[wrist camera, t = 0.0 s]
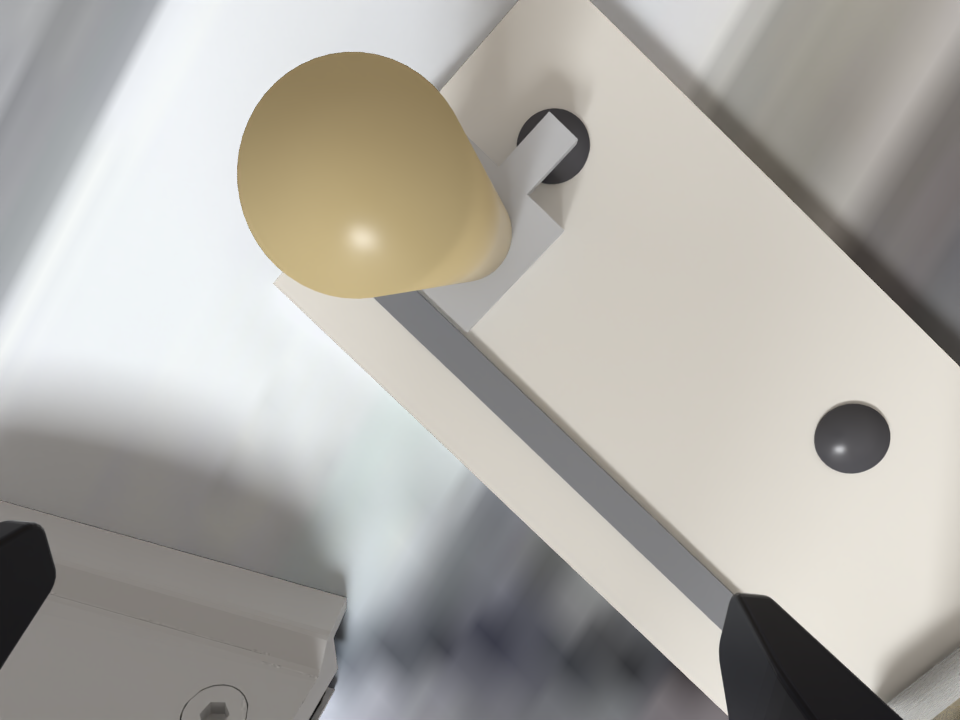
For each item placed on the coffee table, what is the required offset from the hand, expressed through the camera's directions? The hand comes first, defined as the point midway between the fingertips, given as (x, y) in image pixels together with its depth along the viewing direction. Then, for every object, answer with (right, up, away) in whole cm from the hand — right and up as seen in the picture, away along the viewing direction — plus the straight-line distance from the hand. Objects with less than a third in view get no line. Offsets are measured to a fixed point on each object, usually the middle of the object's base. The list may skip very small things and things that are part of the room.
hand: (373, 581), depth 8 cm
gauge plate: (+10, 0, +15) cm, 18 cm away
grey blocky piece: (-13, -8, +18) cm, 24 cm away
